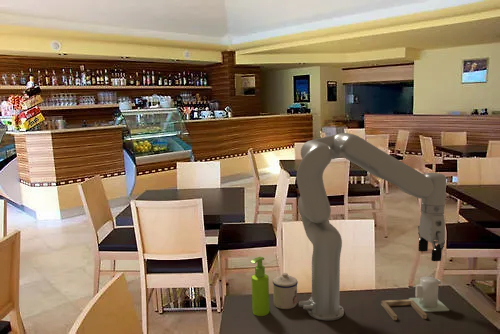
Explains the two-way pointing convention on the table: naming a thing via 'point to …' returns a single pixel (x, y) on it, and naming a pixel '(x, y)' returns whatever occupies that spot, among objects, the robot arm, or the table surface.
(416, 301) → the sage tile
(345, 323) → the table surface
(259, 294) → the soap dispenser
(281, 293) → the teacup with lid
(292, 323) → the table surface
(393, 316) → the oak stall
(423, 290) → the labeled white canister
